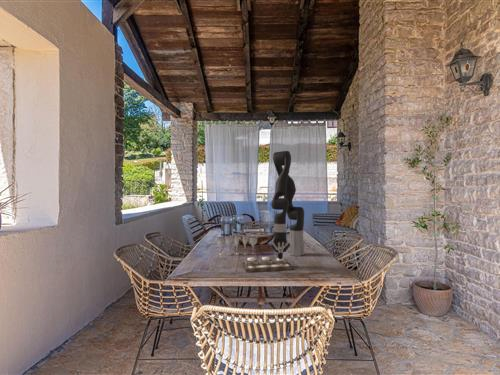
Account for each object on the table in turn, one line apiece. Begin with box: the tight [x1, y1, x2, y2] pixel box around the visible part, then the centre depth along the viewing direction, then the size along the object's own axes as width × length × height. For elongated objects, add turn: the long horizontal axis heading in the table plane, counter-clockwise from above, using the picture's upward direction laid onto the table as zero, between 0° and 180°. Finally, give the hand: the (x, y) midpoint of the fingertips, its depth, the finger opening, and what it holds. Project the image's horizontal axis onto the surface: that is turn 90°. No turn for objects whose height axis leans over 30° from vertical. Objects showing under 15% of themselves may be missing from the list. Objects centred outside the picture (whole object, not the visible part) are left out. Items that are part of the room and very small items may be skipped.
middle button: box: [261, 256, 271, 261], centre depth 229 cm, size 5×5×2 cm
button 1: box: [246, 256, 257, 262], centre depth 227 cm, size 5×5×2 cm
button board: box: [241, 257, 294, 273], centre depth 227 cm, size 28×16×4 cm, turn 101°
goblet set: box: [216, 234, 258, 256], centre depth 263 cm, size 28×6×13 cm, turn 92°
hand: (280, 258), depth 230 cm, fingers closed
